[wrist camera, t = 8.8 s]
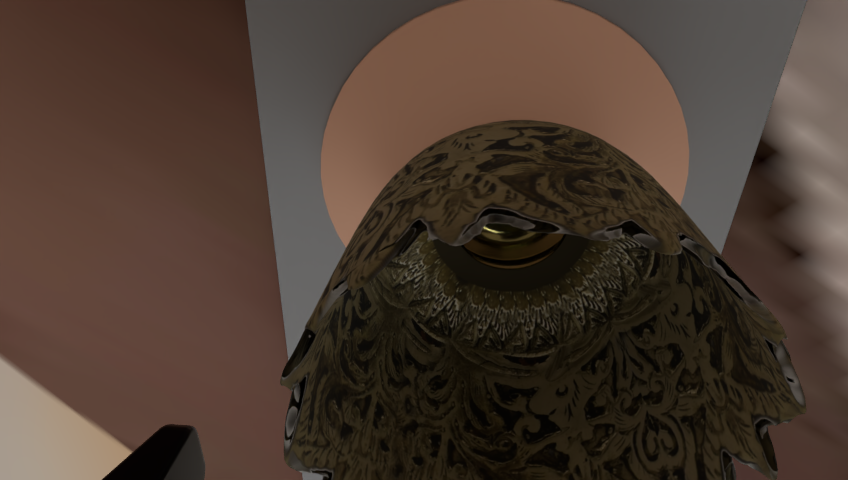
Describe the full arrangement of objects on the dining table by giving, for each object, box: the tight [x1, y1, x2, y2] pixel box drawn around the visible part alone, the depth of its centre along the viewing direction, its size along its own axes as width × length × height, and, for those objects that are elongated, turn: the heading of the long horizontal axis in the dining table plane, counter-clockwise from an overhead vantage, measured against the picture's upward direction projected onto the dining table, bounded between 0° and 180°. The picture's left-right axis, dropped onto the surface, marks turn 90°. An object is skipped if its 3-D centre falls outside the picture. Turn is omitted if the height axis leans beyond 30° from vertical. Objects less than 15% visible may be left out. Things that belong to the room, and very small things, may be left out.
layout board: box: [245, 0, 807, 480], centre depth 17 cm, size 12×21×8 cm, turn 178°
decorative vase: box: [280, 120, 806, 480], centre depth 13 cm, size 8×7×8 cm
